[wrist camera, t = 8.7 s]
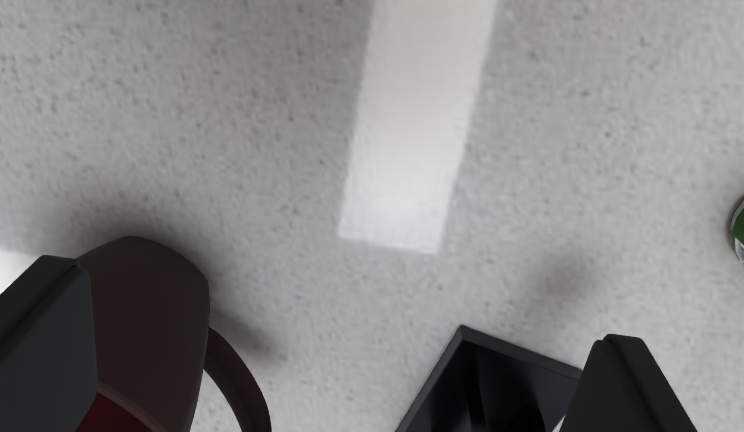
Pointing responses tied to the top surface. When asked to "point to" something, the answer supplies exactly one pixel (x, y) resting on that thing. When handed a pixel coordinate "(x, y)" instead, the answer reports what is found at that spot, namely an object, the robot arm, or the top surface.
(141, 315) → the cup
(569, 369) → the switch bracket
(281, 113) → the top surface
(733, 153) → the top surface
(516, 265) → the top surface
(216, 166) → the top surface
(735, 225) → the beer can
